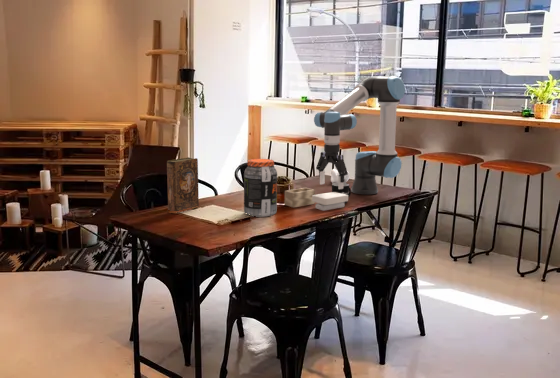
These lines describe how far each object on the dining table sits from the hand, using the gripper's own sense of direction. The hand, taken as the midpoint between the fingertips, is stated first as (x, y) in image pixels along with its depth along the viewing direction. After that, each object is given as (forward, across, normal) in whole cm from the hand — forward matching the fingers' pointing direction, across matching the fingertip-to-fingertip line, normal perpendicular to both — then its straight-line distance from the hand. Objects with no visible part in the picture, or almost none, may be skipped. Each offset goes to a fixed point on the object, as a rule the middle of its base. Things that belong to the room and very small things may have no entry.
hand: (331, 186), depth 283 cm
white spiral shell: (+13, -46, +48) cm, 68 cm away
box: (+11, -14, -9) cm, 20 cm away
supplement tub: (+11, -12, -35) cm, 38 cm away
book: (+10, -39, -62) cm, 74 cm away
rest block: (+11, 0, -1) cm, 11 cm away
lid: (+7, 0, -1) cm, 7 cm away
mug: (+12, -6, +13) cm, 19 cm away
